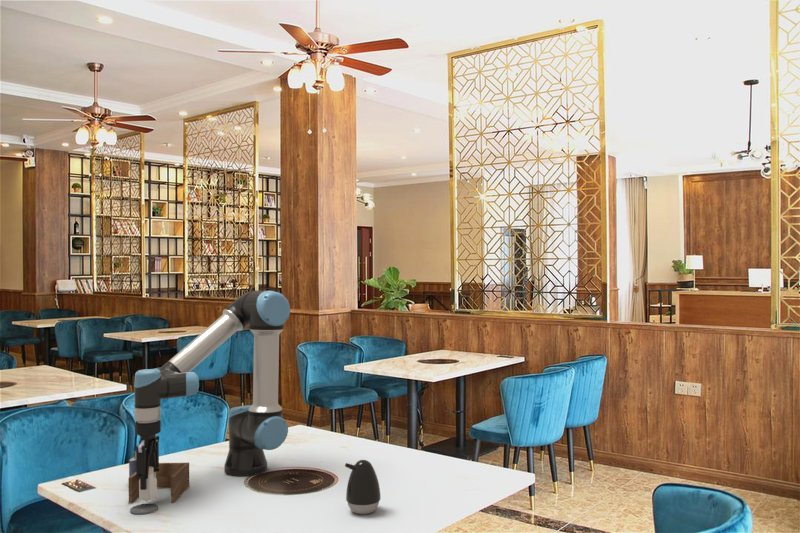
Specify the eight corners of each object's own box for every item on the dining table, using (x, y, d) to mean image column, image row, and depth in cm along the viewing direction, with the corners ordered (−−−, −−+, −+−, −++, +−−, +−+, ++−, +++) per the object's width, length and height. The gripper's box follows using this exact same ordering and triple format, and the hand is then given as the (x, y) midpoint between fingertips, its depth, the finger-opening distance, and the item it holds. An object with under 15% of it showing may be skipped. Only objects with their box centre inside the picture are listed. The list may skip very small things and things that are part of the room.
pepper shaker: (146, 501, 206) (146, 470, 206) (138, 499, 208) (138, 468, 208) (157, 498, 209) (157, 467, 209) (149, 495, 212) (149, 465, 212)
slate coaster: (162, 505, 209) (162, 503, 209) (153, 514, 201) (153, 512, 201) (136, 505, 209) (136, 503, 209) (125, 514, 201) (125, 512, 201)
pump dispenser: (345, 506, 207) (344, 455, 207) (379, 504, 207) (379, 454, 208) (345, 518, 196) (345, 465, 196) (381, 516, 197) (381, 464, 197)
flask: (134, 487, 227) (134, 455, 227) (126, 487, 228) (125, 454, 228) (148, 479, 236) (148, 448, 236) (140, 478, 237) (140, 447, 237)
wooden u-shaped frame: (189, 486, 227) (189, 462, 227) (174, 502, 211) (173, 477, 211) (147, 487, 227) (147, 463, 227) (128, 503, 211) (128, 477, 211)
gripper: (146, 414, 218) (146, 487, 218) (123, 427, 200) (124, 506, 200) (169, 414, 218) (170, 487, 218) (149, 426, 200) (149, 506, 200)
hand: (148, 496), depth 209 cm, fingers closed on pepper shaker, 5 cm apart
